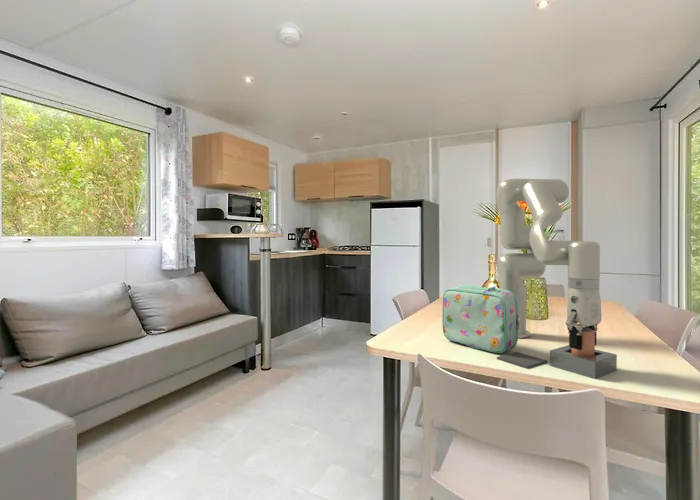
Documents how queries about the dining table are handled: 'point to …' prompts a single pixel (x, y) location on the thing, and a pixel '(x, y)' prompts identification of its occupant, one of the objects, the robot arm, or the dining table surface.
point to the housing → (584, 362)
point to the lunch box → (481, 317)
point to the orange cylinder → (586, 343)
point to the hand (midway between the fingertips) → (582, 346)
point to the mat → (522, 360)
